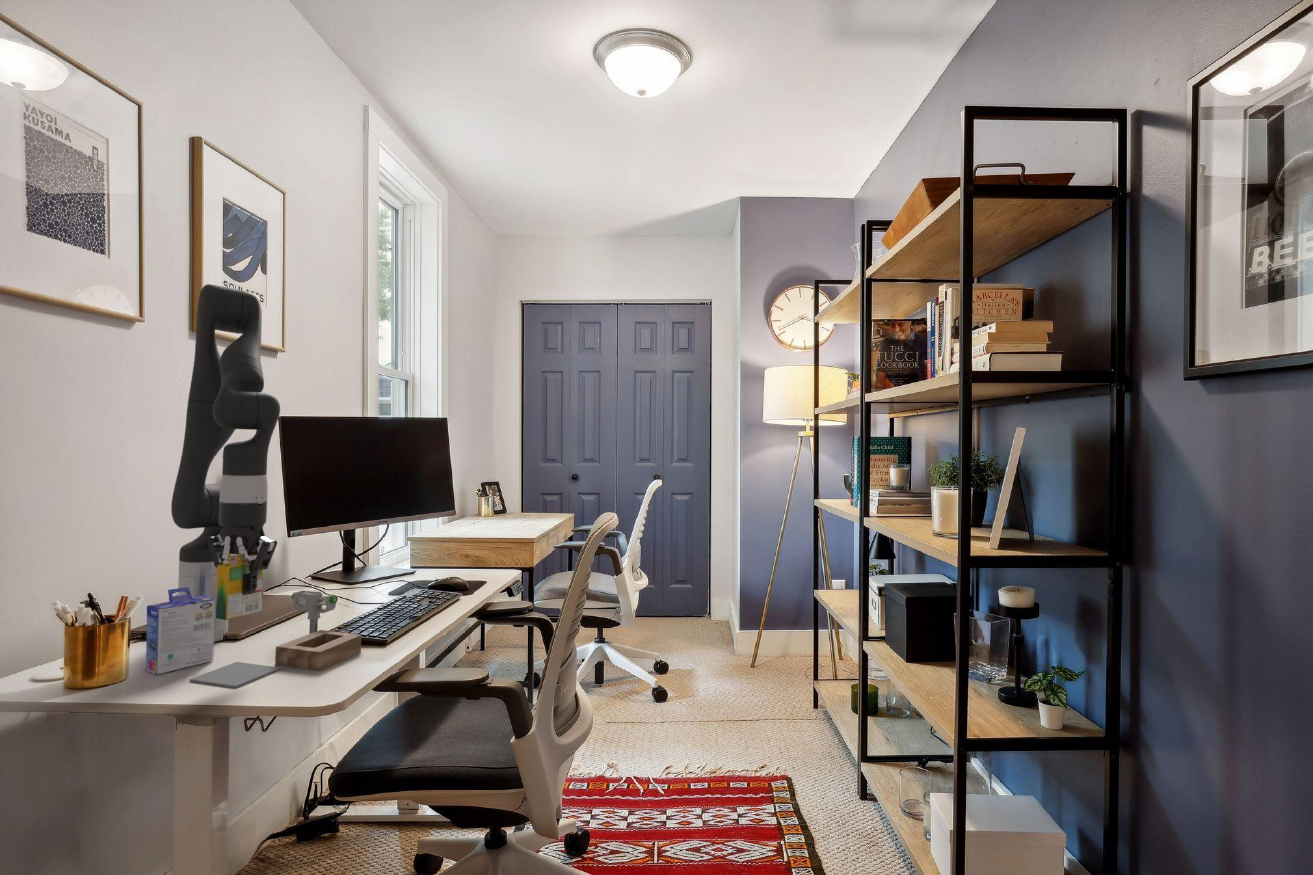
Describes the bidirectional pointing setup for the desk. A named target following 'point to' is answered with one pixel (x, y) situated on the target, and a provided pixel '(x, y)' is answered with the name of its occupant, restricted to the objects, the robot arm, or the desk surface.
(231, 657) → the desk surface
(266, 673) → the mat
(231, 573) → the crayon box
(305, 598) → the mechanical component
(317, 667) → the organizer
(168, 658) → the ink cartridge box
